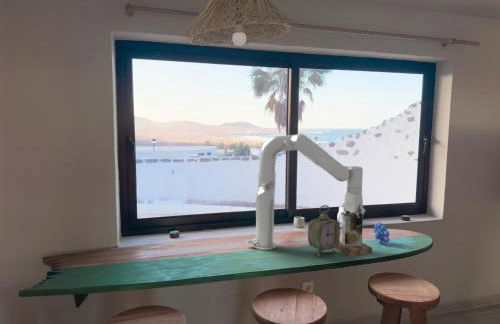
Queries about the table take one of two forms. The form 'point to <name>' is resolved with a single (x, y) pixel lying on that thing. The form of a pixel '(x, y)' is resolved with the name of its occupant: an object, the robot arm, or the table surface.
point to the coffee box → (351, 230)
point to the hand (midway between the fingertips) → (353, 222)
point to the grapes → (381, 233)
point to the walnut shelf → (354, 249)
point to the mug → (341, 214)
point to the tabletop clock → (323, 232)
